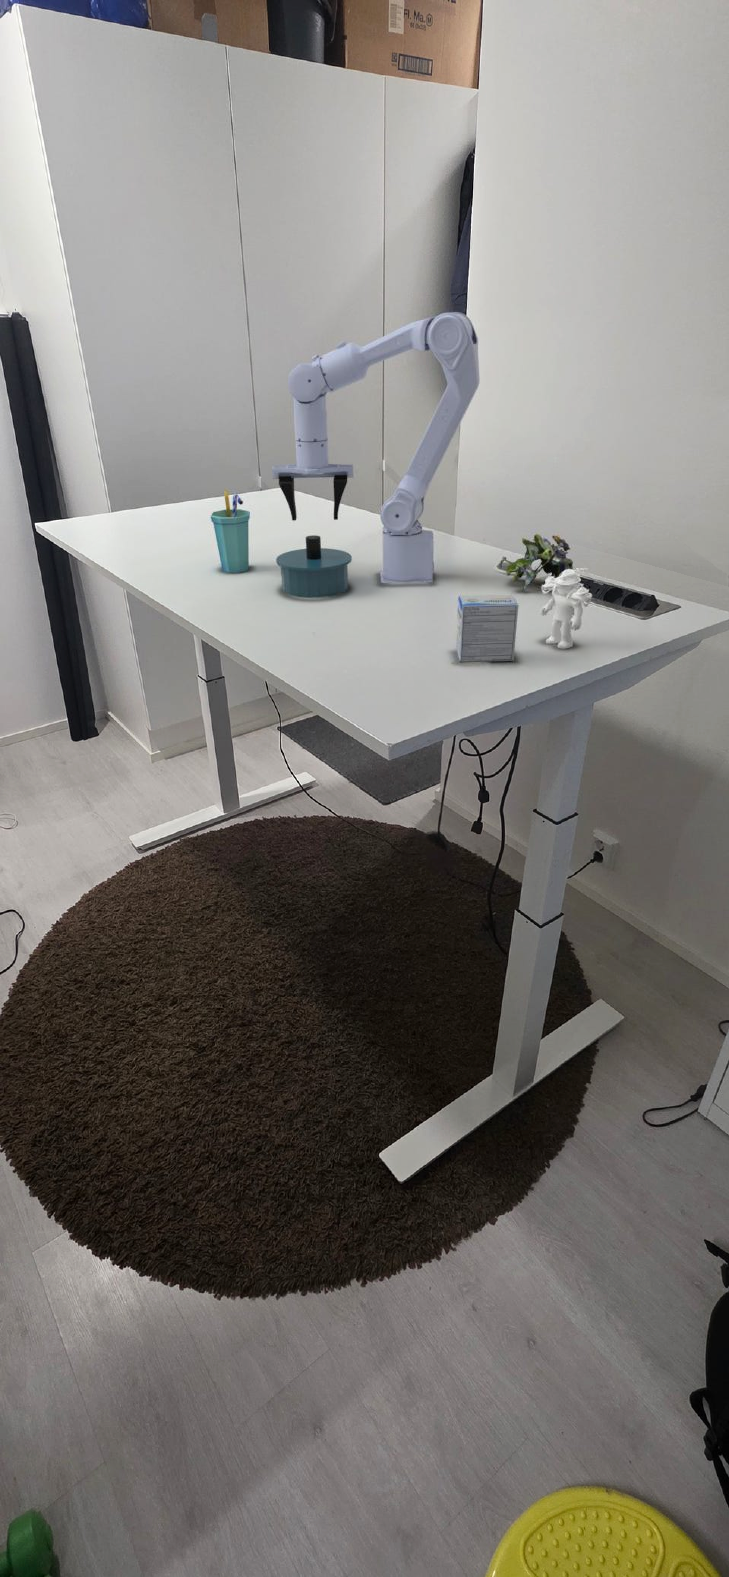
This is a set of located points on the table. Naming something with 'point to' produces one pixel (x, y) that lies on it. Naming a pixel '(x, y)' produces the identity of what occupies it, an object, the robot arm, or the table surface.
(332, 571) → the pot
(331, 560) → the lid
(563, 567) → the passion flower
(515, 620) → the medicine box
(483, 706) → the table surface
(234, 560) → the cup
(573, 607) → the hat wearing toy figure
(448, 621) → the table surface
